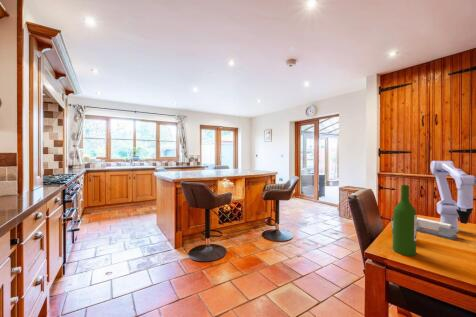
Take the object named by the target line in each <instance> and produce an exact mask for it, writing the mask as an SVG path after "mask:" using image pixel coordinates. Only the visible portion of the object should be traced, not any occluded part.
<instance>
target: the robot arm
mask: <svg viewBox="0 0 476 317" xmlns="http://www.w3.org/2000/svg"><path fill="white" fill-rule="evenodd" d="M454 164H455V163H454V162H453V161H452V160H432V161H431V162H430V166H429V167H430V171H431V174H432V175H433V176H434V177H435V181H436V184H437V188H438V192H439V196H440V200H439V201H438V202H437V203H436V212H437V213H438V214H439V215H440V222H442V223H447V224H452V227H457V232H456V233H455V234H457V233H458V232H460V231H461V229H459V221H460V224H463V225H467V223H468V221H469V219H470V217H471V216H470V215H471V214H472V211H474V205H473V204H474V187H475V186H476V177H475V176H474V175H472V174H471V175H468V174H467V173H466V172H465V171H463V170H462V169H461V168H456V167H455V165H454ZM447 176H450V177H451V178H452V179H453V180H454V181H455V185H456V187H455V188H456V189H457V201H455V200H454V199H453V198H452V194H451V190H450V185H449V183H448V180H447ZM458 218H459V219H458Z"/></svg>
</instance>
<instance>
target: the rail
mask: <svg viewBox="0 0 476 317" xmlns="http://www.w3.org/2000/svg"><path fill="white" fill-rule="evenodd" d="M417 222H418V226H422V227H424V228H428V229H433V230H437V231H439V227H444V228H448V229H452V224H447V223H442V222H441V221H437V220H433V219H432V220H431V219H426V218H423V217H422V218H421V217H418V216H417Z"/></svg>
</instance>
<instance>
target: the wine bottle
mask: <svg viewBox="0 0 476 317" xmlns="http://www.w3.org/2000/svg"><path fill="white" fill-rule="evenodd" d="M400 186H401V190H400V191H401V192H400V201H398V203H396V204H397V205H395V207H394V208H393V212H392V213H393V215H392V218H393V235H392V250H393V251H394V252H395V253H396V254H400V255H402V256H406V257H414V256H416V255H417V232H418V231H417V217H418V214H417V210H416V209H415V208H414V206H413V205H412V203H411V202H410V185H407V184H401V185H400Z"/></svg>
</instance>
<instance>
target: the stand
mask: <svg viewBox="0 0 476 317" xmlns="http://www.w3.org/2000/svg"><path fill="white" fill-rule="evenodd" d="M417 232H418V233H419V232H420V233H423V234H426V235H431V236H435V237H439V238H443V239H447V240H451V241H455V240H456V239H458V234H457V233H458V232H457V227H452V229H448V228H444V227H439V230H435V229H430V228H426V227H422V226H418V222H417ZM456 232H457V233H456Z"/></svg>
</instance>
